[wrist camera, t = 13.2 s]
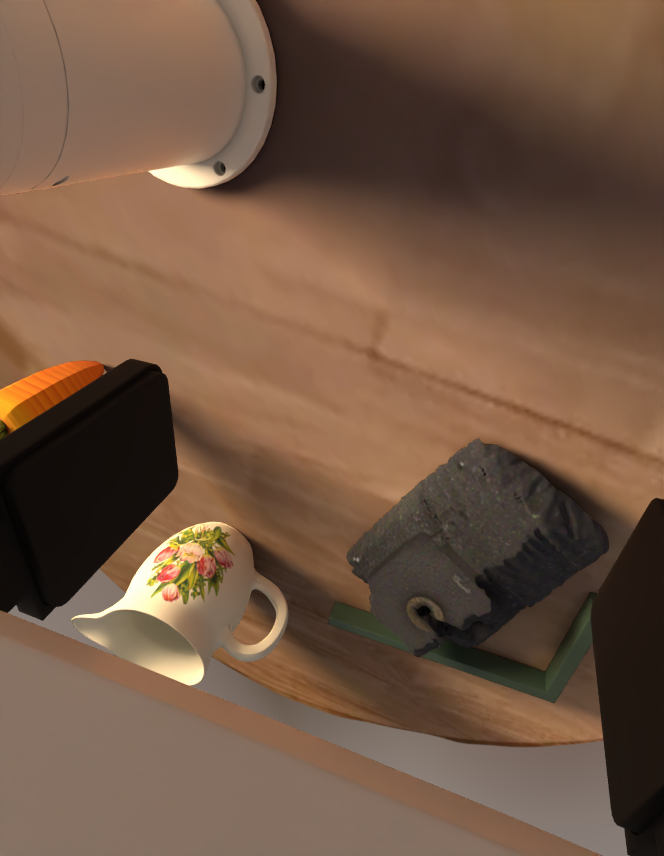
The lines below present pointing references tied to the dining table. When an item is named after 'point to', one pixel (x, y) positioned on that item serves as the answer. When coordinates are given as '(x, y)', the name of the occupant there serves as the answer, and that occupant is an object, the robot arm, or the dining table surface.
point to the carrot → (43, 392)
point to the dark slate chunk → (472, 549)
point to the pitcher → (187, 605)
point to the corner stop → (483, 662)
